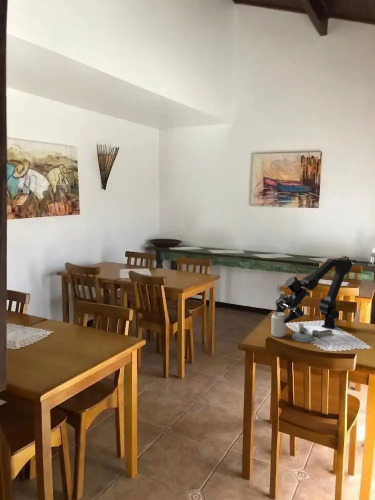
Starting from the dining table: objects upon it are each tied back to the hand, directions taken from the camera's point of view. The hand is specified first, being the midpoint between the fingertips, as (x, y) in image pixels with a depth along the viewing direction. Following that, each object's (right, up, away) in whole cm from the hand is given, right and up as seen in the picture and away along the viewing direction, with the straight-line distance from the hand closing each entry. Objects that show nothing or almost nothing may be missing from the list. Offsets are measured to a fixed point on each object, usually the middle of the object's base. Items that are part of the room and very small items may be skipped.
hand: (279, 320), depth 215 cm
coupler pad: (+11, -9, -4) cm, 15 cm away
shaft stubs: (+18, -7, +3) cm, 20 cm away
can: (0, -8, +1) cm, 8 cm away
